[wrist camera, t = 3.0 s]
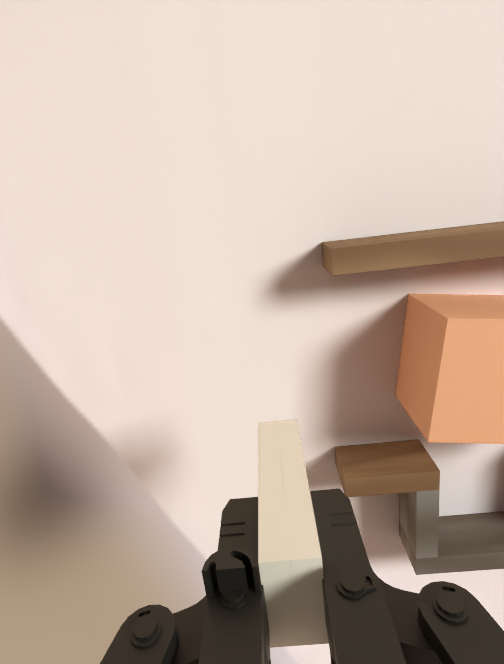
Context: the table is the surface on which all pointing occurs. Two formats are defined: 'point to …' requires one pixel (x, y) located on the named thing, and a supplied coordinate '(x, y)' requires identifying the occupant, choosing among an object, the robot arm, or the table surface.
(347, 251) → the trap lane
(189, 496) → the table surface
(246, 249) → the table surface
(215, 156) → the table surface
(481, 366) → the terracotta block
